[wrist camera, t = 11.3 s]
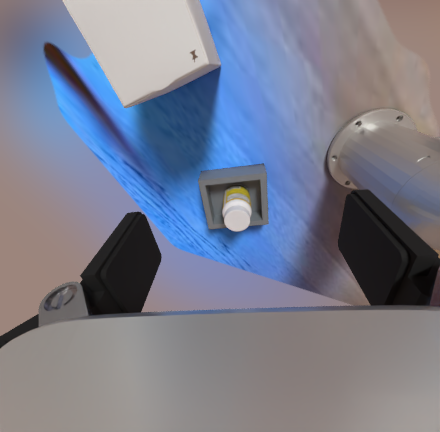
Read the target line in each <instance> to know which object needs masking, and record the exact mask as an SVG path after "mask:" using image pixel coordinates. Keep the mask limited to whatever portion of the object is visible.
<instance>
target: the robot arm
mask: <svg viewBox="0 0 440 432" xmlns="http://www.w3.org/2000/svg"><path fill="white" fill-rule="evenodd" d="M356 122H357V124H356ZM332 156H334V157H332ZM327 166H328V169H329V172H330V174H331V176H332V177H333V178H334V179H335V181H337V182H338V183H339V184H340V185H342V186H344V187H347V188H351V189H359V190H354V191H352V192H351V194H348V195H347V197H346V201H345V207H344V212H343V217H342V223H341V228H340V234H339V239H338V247H339V250H340V251H341V253H342V255H343V257H344V259H345V260H346V262H347V264H348V266H349V267H350V269H351V271H352V273H353V275H354V276H355V278H356V280H357V282H358V283H359V285H360V287H361V289H362V291H363V292H364V294H365V296H366V298H367V300H368V301H369V303H370V306H323V307H287V308H286V307H285V308H255V309H224V310H223V309H222V310H193V311H168V312H167V311H166V312H141V311H142V308H143V306H144V303H145V301H146V298H147V295H148V293H149V290H150V288H151V285H152V283H153V280H154V278H155V275H156V272H157V270H158V267H159V265H160V262H161V253H160V250H159V248H158V245H157V243H156V241H155V238H154V236H153V233H152V231H151V228H150V226H149V223H148V221H147V218H146V216H145V215H144V214H142V213H141V212H131V213H127V214H126V215H125V217H124V218H123V220H122V221H121V222H120V223H119V225H118V226H117V227H116V229H115V230H114V231H113V233H112V234H111V235H110V237H109V238H108V239H107V241H106V242H105V243H104V245H103V246H102V247H101V249H100V250H99V251H98V253H97V254H96V255H95V257H94V258H93V259H92V261H91V262H90V263H89V265H88V266H87V268H86V269H85V270H84V271H83V273H82V274H81V275H80V276H81V277H82V279H83V280H82V281H81V283H78V282H68V283H65V284H62V285H60V286H58V287H57V288H55V289H53V290H52V291H51V292H50V293H48V294H47V295H46V296H45V298H44V299H43V300H42V302H41V303H40V306H39V314H38V315H36V316H34V317H32V318H31V319H29V320H27V321H26V322H24V323H22V324H20V325H19V326H17V327H15V328H14V329H12V330H10V331H9V332H7V333H5V334H4V335H2V336H0V432H440V259H439V258H438V255H439V254H438V253H436V252H435V251H434V250H433V249H436V250H440V137H432V136H429V135H426V134H423V133H421V132H418V131H417V128H416V125H415V123H414V122H413V120H412V119H411V118H410V117H409V116H408V115H407V114H405V113H403V112H400V111H398V110H394V109H385V108H382V109H375V110H371V111H368V112H365V113H363V114H361V115H359V116H357V117H355V118H354V119H352V120H351V121H349V122H348V123H347V124H346V125H345V126H344V127H343V128H342V129H341V130H340V131H339V132H338V133H337V135H336V136H335V138H334V139H333V141H332V143H331V145H330V148H329V151H328V156H327Z"/></svg>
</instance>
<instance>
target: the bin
mask: <svg viewBox="0 0 440 432" xmlns="http://www.w3.org/2000/svg"><path fill="white" fill-rule="evenodd" d="M198 183H199V187H200V192H201V196H202V201H203V205H204V209H205V214H206V218H207V223H208V227H209V229H218V228H227V227H226V225H225V223H224V217H223V214H222V209H223V197H224V192H225V190H226V189H227V187H229V186H230V185H233V184H241V185H243V186H245V187H246V188H247V189H248V191H249V194H250V202H251V210H252V213H251V217H250V224H249V226H254V225H266V224H268V198H267V173H266V169H265V166H264V164H256V165H248V166H240V167H232V168H223V169H215V170H207V171H201V174H200V177H199V179H198Z"/></svg>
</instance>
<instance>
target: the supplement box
mask: <svg viewBox="0 0 440 432" xmlns="http://www.w3.org/2000/svg"><path fill="white" fill-rule="evenodd" d="M62 1H63V2H64V4H65V6H66V8H67V9H68V11H69V13H70V15H71V16H72V18H73V20H74V22H75V23H76V25H77V26H78V28H79V30H80V31H81V33H82V35H83V37H84V38H85V40H86V42H87V43H88V45H89V47H90V48H91V50H92V52H93V54H94V56H95V57H96V59H97V61H98V63H99V64H100V66H101V68H102V70H103V71H104V73H105V75H106V77H107V78H108V80H109V82H110V84H111V85H112V87H113V89H114V91H115V92H116V94H117V96H118V98H119V99H120V101H121V103H122V105H123V106H124V108H128V107H131V106H134V105H137V104H140V103H142V102H145V101H147V100H150V99H153V98H155V97H158V96H161V95H163V94H166V93H169V92H171V91H173V90H175V89H177V88H179V87H181V86H183V85H185V84H187V83H189V82H191V81H193V80H195V79H197V78H199V77H201V76H203V75H205V74H207V73H209V72H211V71H213V70H215V69H217V68H218V67H220V66H221V63H220V59H219V56H218V53H217V50H216V47H215V44H214V41H213V38H212V35H211V32H210V29H209V26H208V24H207V21H206V18H205V15H204V12H203V9H202V6H201V3H200V1H199V0H62Z"/></svg>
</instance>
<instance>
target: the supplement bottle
mask: <svg viewBox="0 0 440 432" xmlns="http://www.w3.org/2000/svg"><path fill="white" fill-rule="evenodd" d="M251 213H252V210H251V202H250V194H249V191H248V189H247V188H246V187H245V186H243V185H241V184H233V185H230V186H229V187H227V189H226V190H225V192H224V197H223V209H222V214H223V217H224V223H225V225H226V227H227V228H228V229H230V230H232V231H242V230H244V229H246V228H247V227H248V226H249V224H250V217H251Z"/></svg>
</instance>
